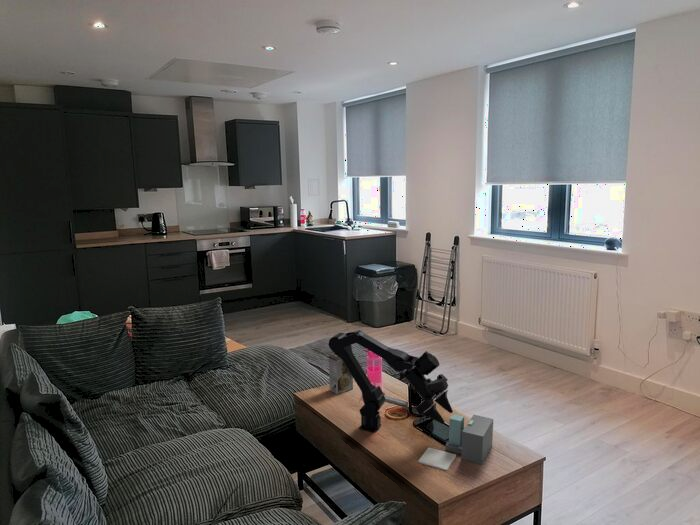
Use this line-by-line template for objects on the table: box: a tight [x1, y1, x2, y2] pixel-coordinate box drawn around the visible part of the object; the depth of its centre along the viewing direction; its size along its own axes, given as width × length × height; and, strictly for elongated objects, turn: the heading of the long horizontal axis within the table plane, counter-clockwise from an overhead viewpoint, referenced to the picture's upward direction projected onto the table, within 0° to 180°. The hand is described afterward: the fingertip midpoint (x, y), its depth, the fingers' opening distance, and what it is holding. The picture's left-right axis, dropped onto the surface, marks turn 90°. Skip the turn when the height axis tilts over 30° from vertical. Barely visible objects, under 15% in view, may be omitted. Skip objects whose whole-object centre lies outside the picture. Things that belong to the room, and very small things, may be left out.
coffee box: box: [328, 354, 354, 395], centre depth 223 cm, size 9×6×16 cm
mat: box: [417, 447, 457, 471], centre depth 167 cm, size 10×10×1 cm
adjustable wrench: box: [384, 394, 409, 406], centre depth 212 cm, size 25×6×2 cm, turn 51°
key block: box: [448, 413, 465, 447], centre depth 174 cm, size 4×4×11 cm
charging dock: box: [445, 414, 494, 466], centre depth 172 cm, size 14×14×10 cm
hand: (447, 417), depth 175 cm, fingers open, 9 cm apart
